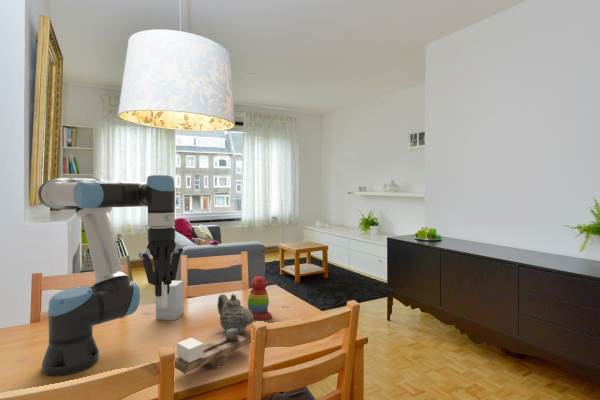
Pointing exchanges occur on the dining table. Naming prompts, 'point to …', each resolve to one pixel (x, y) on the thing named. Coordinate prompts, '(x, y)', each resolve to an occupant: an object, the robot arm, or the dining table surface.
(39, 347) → the dining table surface
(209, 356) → the beam
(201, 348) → the rider
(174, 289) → the supplement box
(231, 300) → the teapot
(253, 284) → the stacking bear
